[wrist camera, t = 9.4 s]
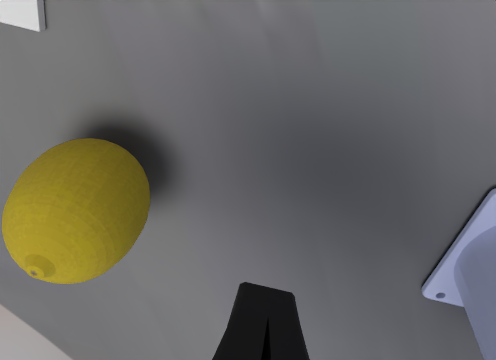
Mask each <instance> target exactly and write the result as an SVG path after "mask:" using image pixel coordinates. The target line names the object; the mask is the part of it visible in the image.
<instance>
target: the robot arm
mask: <svg viewBox="0 0 496 360" xmlns="http://www.w3.org/2000/svg"><path fill="white" fill-rule="evenodd" d="M422 293H423V296H424V297H426V298H429V299H433V300H437V301H441V302H445V303H449V304H453V305H457V306H462V307H464V308H465V310H466V313H467V316H468V318H469V321H470V324H471V326H472V329H473V332H474V334H475V337H476V340H477V342H478V345H479V348H480V350H481V353H482V356H483V358H484V360H496V188H495V189H493V190H491V191H490V192H489V194H488V195H487V196H486V198H485V199H484V201H483V202H482V203H481V205H480V206H479V208H478V209H477V210H476V212H475V213H474V215H473V216H472V218H471V219H470V220H469V222H468V223H467V225H466V226H465V227H464V229H463V230H462V232H461V233H460V234H459V236H458V237H457V239H456V240H455V242H454V243H453V244H452V246H451V247H450V249H449V250H448V251H447V253H446V254H445V256H444V257H443V258H442V260H441V261H440V263H439V264H438V266H437V267H436V268H435V270H434V271H433V273H432V274H431V275H430V277H429V278H428V280H427V281H426V282H425V284H424V285H423V287H422ZM212 360H310V359H309V356H308V352H307V349H306V345H305V341H304V337H303V334H302V330H301V326H300V321H299V317H298V312H297V307H296V302H295V296H294V295H293V294H292V293H291V292H287V291H282V290H278V289H274V288H269V287H265V286H260V285H256V284H252V283H247V282H244V283H241V284H240V286H239V289H238V292H237V296H236V299H235V302H234V306H233V309H232V312H231V315H230V319H229V322H228V325H227V329H226V331H225V333H224V335H223V338H222V340H221V342H220V344H219V346H218V348H217V350H216V353H215V355H214V357H213V359H212Z"/></svg>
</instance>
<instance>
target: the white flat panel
mask: <svg viewBox="0 0 496 360" xmlns="http://www.w3.org/2000/svg"><path fill="white" fill-rule="evenodd" d="M0 22H3V23H7V24H11V25H15V26H19V27H23V28H27V29H31V30H35V31H39V32H40V31H42V30H44V29H46V26H45V13H44V1H43V0H0Z"/></svg>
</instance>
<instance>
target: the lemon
mask: <svg viewBox="0 0 496 360" xmlns="http://www.w3.org/2000/svg"><path fill="white" fill-rule="evenodd" d="M149 206H150V189H149V182H148V179H147V177H146V174H145V172H144V170H143V168H142V166H141V165H140V164H139V162H138V161H137V160H136V158H135V157H134V156H133V155H131V154H130V153H129V152H128V151H127V150H125V149H124V148H122V147H120V146H119V145H117V144H114V143H112V142H109V141H106V140H101V139H94V138H84V139H74V140H70V141H67V142H65V143H62V144H60V145H57V146H55V147H53V148H51V149H49V150H47V151H46V152H45V153H43V154H42V155H41V156H40V157H38V158H37V159H36V160H35V161H34V162H33V163H32V164H30V165H29V166H28V167H27V168H26V169H25V171H24V172H23V173H22V174H21V176H20V177H19V179H18V180H17V182H16V184H15V186H14V188H13V189H12V191H11V193H10V195H9V197H8V199H7V202H6V204H5V207H4V211H3V217H2V233H3V237H4V241H5V244H6V247H7V249H8V251H9V253H10V254H11V256H12V258H13V259H14V260H15V261H16V263H17V264H18V265H19V266H20V267H21V268H22V269H23V270H25V271H26V272H27V273H28V274H29V275H30V276H31V277H33V278H37V279H41V280H44V281H48V282H52V283H61V284H70V283H79V282H84V281H87V280H90V279H92V278H95V277H97V276H99V275H102V274H103V273H105V272H106V271H108V270H109V269H110V268H111V267H113V266H114V265H115V264H116V263H117V262H119V261H120V260H121V259H122V258H123V257H124V256H125V255H126V254H127V252H128V251H129V250H130V249H131V247H132V246H133V245H134V243H135V241H136V240H137V238H138V236H139V235H140V233H141V231H142V230H143V228H144V225H145V223H146V220H147V216H148V211H149Z"/></svg>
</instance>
